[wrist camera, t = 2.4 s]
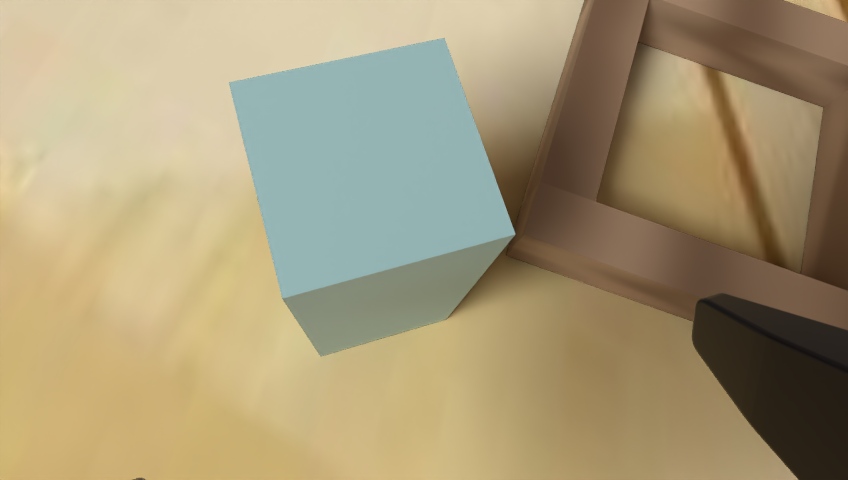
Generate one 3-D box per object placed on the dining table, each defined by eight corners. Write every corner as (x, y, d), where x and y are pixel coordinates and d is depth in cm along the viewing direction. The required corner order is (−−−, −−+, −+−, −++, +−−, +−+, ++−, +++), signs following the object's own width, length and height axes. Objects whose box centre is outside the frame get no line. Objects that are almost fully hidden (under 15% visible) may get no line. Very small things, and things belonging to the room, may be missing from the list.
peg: (445, 319, 21) (515, 234, 11) (320, 356, 20) (281, 298, 11) (409, 203, 22) (444, 37, 12) (289, 234, 21) (228, 82, 12)
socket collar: (872, 84, 26) (924, 49, 23) (841, 373, 22) (900, 368, 19) (589, -16, 26) (612, -61, 23) (506, 255, 22) (523, 234, 19)
